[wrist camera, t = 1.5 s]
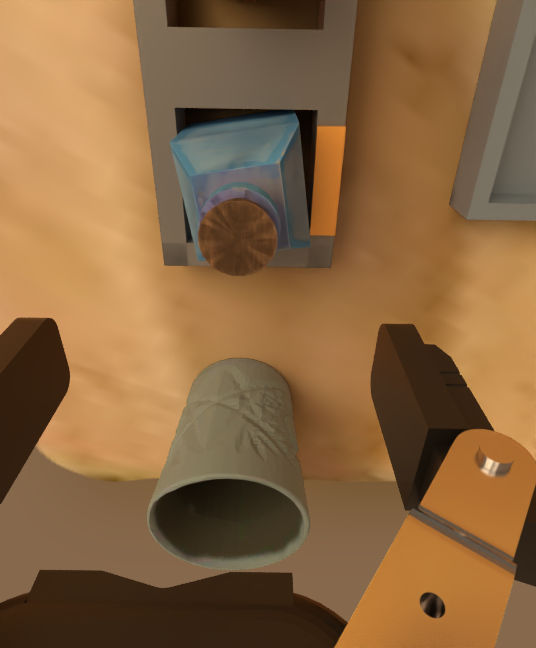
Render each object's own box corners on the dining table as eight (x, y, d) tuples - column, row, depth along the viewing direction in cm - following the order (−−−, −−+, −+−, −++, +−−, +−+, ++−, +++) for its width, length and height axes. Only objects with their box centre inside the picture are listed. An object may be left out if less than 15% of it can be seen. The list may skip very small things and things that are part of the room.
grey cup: (320, 379, 37) (340, 507, 26) (265, 454, 41) (264, 587, 31) (207, 332, 34) (181, 453, 24) (162, 418, 39) (124, 549, 29)
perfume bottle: (189, 123, 26) (139, 171, 16) (293, 107, 26) (308, 146, 16) (210, 223, 30) (180, 315, 19) (303, 210, 29) (321, 298, 19)
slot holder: (124, -224, 19) (98, -271, 16) (368, -219, 19) (384, -264, 16) (173, 247, 30) (163, 267, 28) (325, 249, 30) (331, 269, 28)
